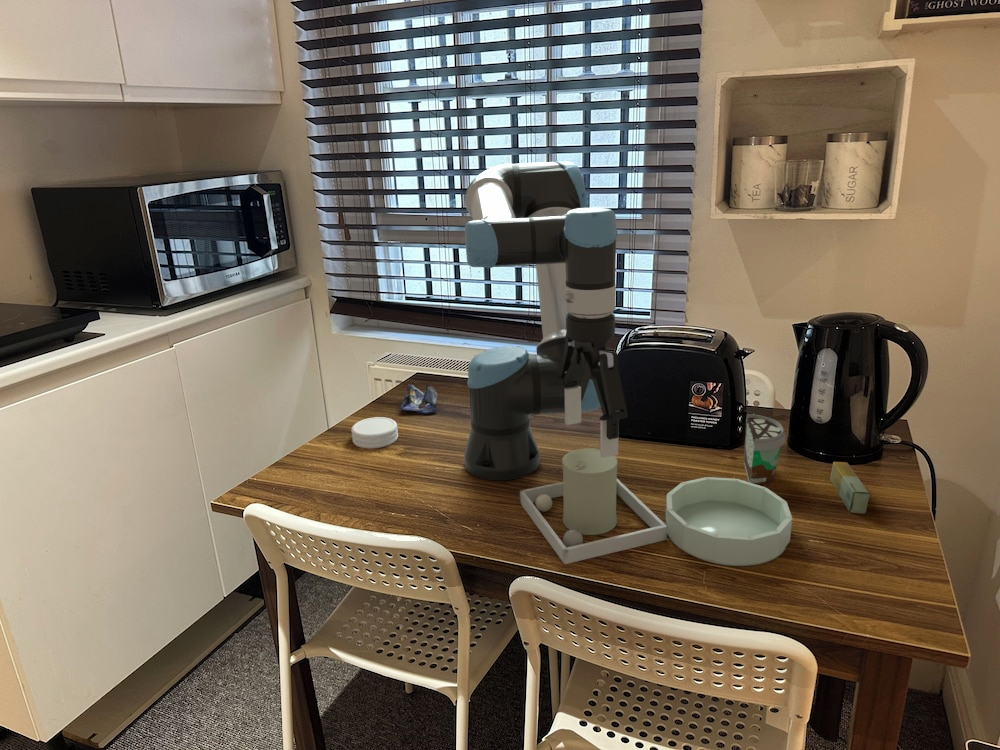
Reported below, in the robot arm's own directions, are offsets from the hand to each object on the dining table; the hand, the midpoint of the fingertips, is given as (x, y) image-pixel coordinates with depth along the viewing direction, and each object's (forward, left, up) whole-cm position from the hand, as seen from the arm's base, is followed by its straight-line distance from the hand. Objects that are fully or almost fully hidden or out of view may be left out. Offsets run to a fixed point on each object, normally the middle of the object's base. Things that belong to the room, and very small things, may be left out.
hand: (590, 438), depth 115 cm
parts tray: (0, 0, -16) cm, 16 cm away
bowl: (+11, +19, -16) cm, 27 cm away
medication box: (+9, +46, -16) cm, 49 cm away
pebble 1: (-6, -6, -16) cm, 18 cm away
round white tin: (-48, -29, -16) cm, 58 cm away
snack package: (-62, -15, -16) cm, 66 cm away
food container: (-2, +37, -16) cm, 40 cm away
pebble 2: (+6, -6, -16) cm, 18 cm away
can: (0, 0, -16) cm, 16 cm away
